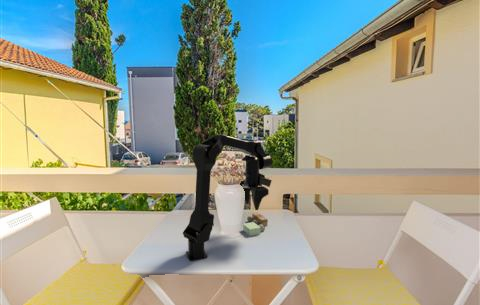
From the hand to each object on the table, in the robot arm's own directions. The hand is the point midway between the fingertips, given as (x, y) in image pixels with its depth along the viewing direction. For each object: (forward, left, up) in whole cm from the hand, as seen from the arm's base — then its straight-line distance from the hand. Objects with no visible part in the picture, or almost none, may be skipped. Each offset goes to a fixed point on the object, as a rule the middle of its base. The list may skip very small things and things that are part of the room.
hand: (251, 206), depth 122 cm
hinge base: (+9, -7, -11) cm, 16 cm away
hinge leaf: (0, -2, -11) cm, 11 cm away
